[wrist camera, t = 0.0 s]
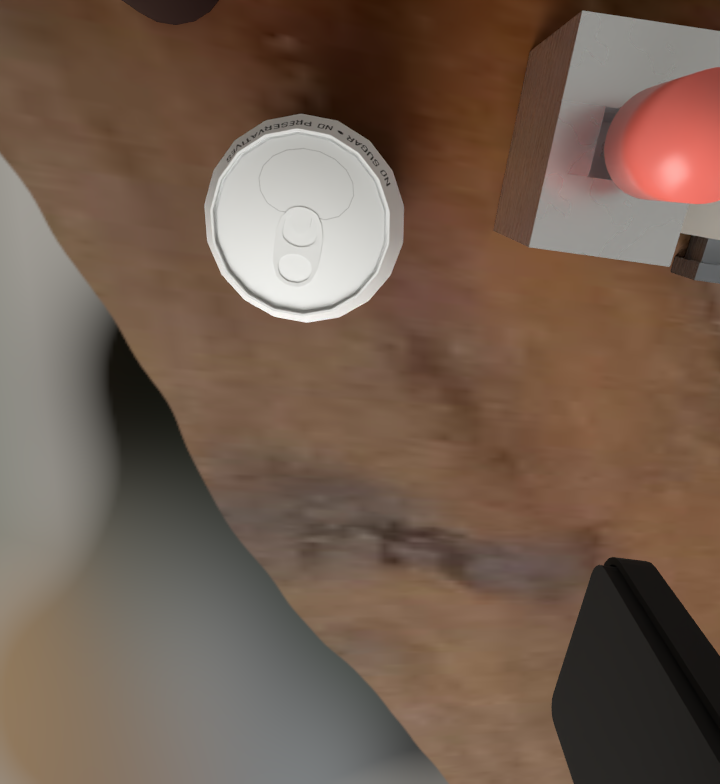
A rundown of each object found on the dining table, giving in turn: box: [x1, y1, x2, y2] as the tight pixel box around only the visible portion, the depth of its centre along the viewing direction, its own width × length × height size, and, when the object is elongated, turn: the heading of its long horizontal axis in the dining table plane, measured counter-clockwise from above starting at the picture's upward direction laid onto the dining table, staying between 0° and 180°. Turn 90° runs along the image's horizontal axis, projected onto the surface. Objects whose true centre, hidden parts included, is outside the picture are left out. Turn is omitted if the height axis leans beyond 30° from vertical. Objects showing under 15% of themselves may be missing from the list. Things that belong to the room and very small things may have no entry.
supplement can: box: [204, 114, 404, 323], centre depth 30 cm, size 8×8×15 cm
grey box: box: [493, 10, 720, 267], centre depth 32 cm, size 10×7×9 cm
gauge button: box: [603, 67, 720, 204], centre depth 24 cm, size 4×4×8 cm
